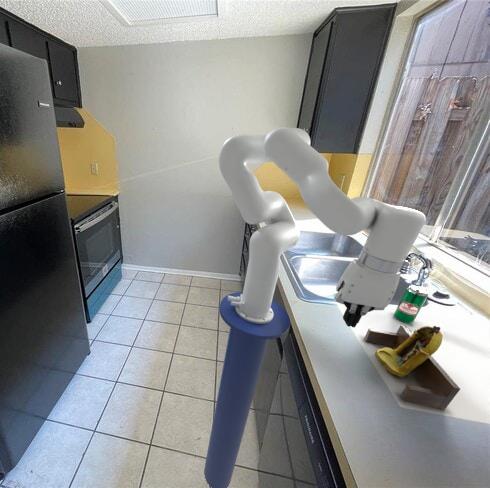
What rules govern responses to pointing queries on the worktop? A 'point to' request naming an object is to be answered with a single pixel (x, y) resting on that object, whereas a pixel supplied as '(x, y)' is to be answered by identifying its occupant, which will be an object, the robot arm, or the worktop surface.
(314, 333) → the worktop surface
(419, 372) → the shoe rack
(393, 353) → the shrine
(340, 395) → the worktop surface
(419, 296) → the soda can
